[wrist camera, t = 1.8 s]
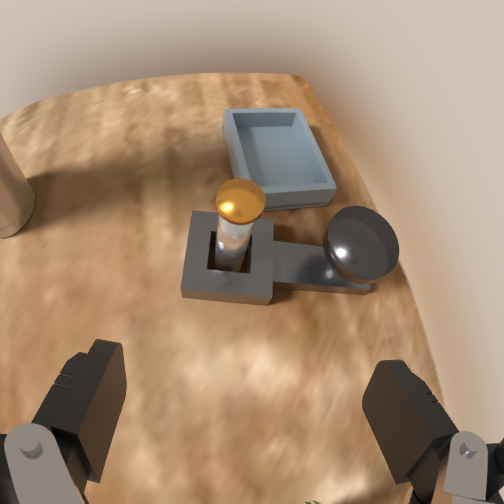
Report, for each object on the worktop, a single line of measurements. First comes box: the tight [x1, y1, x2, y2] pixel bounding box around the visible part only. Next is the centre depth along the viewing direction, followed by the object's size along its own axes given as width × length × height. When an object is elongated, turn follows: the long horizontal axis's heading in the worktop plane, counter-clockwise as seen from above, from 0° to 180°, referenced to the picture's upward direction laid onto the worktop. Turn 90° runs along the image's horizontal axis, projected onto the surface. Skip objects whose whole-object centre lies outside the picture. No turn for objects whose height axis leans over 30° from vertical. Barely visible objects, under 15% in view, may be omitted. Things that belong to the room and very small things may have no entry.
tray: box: [222, 108, 337, 211], centre depth 43 cm, size 16×12×4 cm
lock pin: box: [214, 178, 266, 273], centre depth 31 cm, size 4×4×13 cm
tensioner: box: [181, 206, 399, 306], centre depth 33 cm, size 22×9×9 cm, turn 87°
